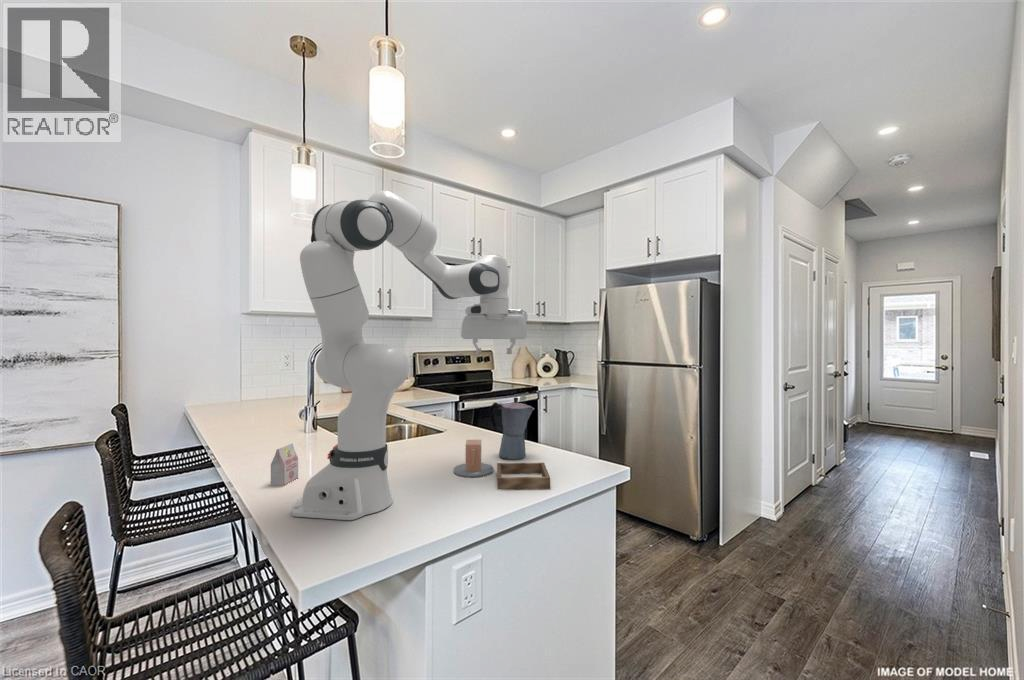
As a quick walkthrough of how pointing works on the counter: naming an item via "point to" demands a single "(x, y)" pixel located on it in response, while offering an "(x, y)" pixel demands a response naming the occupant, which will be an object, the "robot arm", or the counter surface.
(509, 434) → the moka pot
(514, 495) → the counter surface
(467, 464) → the terracotta clay block
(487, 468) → the slate coaster
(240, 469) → the counter surface
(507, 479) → the frame
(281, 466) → the milk carton
